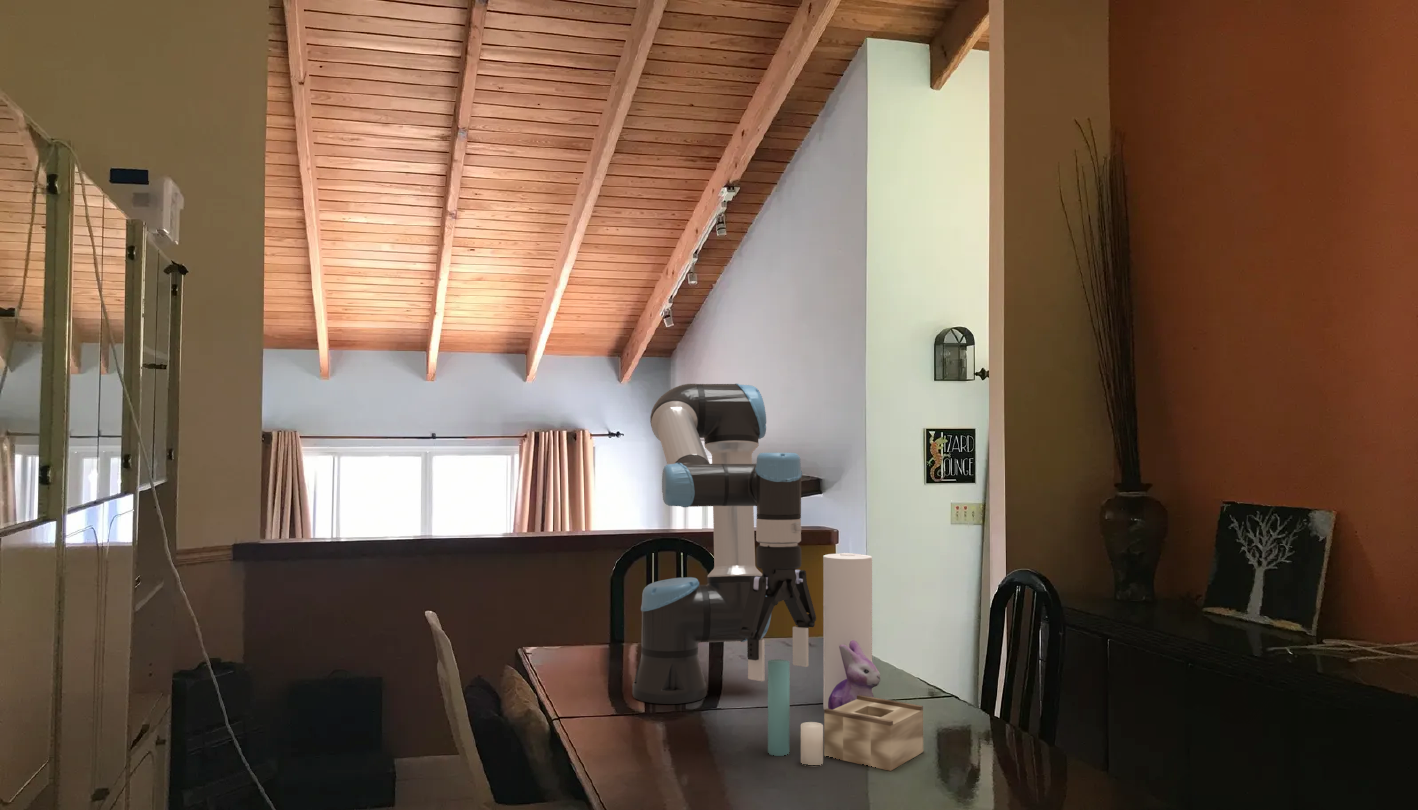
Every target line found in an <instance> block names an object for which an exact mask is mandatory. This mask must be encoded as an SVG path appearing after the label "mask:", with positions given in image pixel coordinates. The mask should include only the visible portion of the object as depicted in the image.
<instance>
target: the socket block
mask: <svg viewBox="0 0 1418 810" xmlns="http://www.w3.org/2000/svg"><path fill="white" fill-rule="evenodd" d="M823 711H824V712H823V714H824V715H823V717H824V718H823V722H824V723H823V724H824V725H823V757H826V756H829V757H828V758H830V757H833V758H832V759H835V758H836V759H835V760H839V759H840V761H844V762H849V763H853V764H858V765H862V764H864V765H863V766H866V765H868V767H871V766H872V767H871V768H875V767H876V768H875V769H880V770H885V771H889V772H891V771H893V770H895V769H896V768H898V767H901V766H902V765H904V764H905V763H907V762H908V761H910V760H912V759H913V758H915V757H918V756H919V755H920V754H922V753H924V706H923V705H918V704H914V703H909V702H908V703H907V702H902V701H895V700H890V699H887V698H886V699H884V698H880V697H874V696H873V697H869V696H863V695H857V699H856V700H854V701H852V702H849V703H847V704H845V705H842V706H840V707H838V708H835V709H833V710H832V709H824V708H823Z"/></svg>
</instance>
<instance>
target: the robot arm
mask: <svg viewBox="0 0 1418 810" xmlns="http://www.w3.org/2000/svg"><path fill="white" fill-rule="evenodd" d="M766 413H767V412H766V407H765V403H764V398H763V396H762V394H761V392H760V391H759V389H758V388H757V386H754V385H750V384H739V383H686V384H681V385H678V386H675V387H673V388H671V389H669V390H667V391H666V392H664V394H662V395H661V396H660V397H659V398H658V399H657V400H656V402H655V404H654V405H653V407H652V410H651V413H650V417H649V418H650V426H651V430H652V433H653V435H654V436H655V438H656V439H658V440H659V441H660V444H661V447H662V450H663V454H664V457H665V461H666V465H665V466H664V467H663V468H662V473H661V474H662V475H661V492H662V493H661V494H662V500H663V502H664V504H665V505H667V506H669V507H681V508H691V507H692V508H693V507H694V508H695V507H698V508H699V507H712V518H713V520H712V521H713V558H714V559H713V561H714V563H713V564H714V566H713V569H711V571H710V572H709V573H708V575H707V579H706V580H707V584H700V581H699V579H698V578H696V577H692V576H688V577H686V576H685V577H672V578H668V579H662V580H661V579H660V580H658V581H654V582H651V583H649V584H647V585H646V586H645V587H644V588H643V590H642V593H641V595H642V596H641V606H640V611H641V652H640V653H641V657H640V659H639V663H638V665H637V666H638V667H637V670H636V672H635V675H634V676H635V678H634V680H633V682H632V697H633V698H634V699H636V700H638V701H640V702H644V703H649V704H651V703H652V704H659V705H666V704H667V705H675V704H677V705H678V704H687V703H693V702H696V701H700V700H702V699H704V698H705V697H706V696H707V693H708V692H707V681H706V679H705V677H704V673H703V672H704V671H703V668H702V665H701V662H700V658H699V643H727V642H729V643H730V642H732V643H733V642H740V643H745V642H747V643H746V644H747V679H748V680H752V681H758V682H765V677H766V676H765V673H766V672H765V671H766V670H765V669H766V668H765V665H766V664H765V663H766V661H765V660H766V659H765V657H766V654H765V651H766V650H765V648H766V647H765V646H766V644H765V639H764V637H765V636H766V634H767V632H768V630H769V627H770V624H771V618H772V613H773V610H774V608H775V606H778V605H779V602H784V604H785V606H786V608H787V609H788V613H790V616H791V618H792V619H793V622H794V624H795V626H792V666H798V667H804V668H807V667H809V642H810V641H809V640H810V639H809V628H815V624H816V623H815V622H816V621H817V615H816V612H815V608H814V603H813V600H812V597H811V593H810V588H809V586H808V582H807V572H806V570H804V569H799V568H801V567H802V547H801V546H800V545H799V543H800V542H802V534H801V533H802V529H803V528H802V523H801V522H802V520H801V519H802V476H803V472H802V467H801V456H800V455H799V454H798V453H796V452H760V453H759V454H757V457H756V463H753V453H754V451H755V450H756V449H757V448H758V447H759V440H761V439H762V438H765V436H766V434H767V432H766V431H767V414H766ZM701 439H703V440H704V445H703V443H702V441H701ZM705 449H706V450H707V451H708V452H709V453H710V454H711V463H710V461H709V459H708V455H707V453H706V451H705ZM754 507H756V519H755V518H754V517H755V516H754V513H755V512H754ZM755 520H756V523H755ZM755 524H756V525H755ZM755 526H756V529H755ZM755 531H756V532H755ZM755 534H756V535H755ZM755 537H756V538H755ZM755 542H757V543H759V544H758V545H757V547H755ZM755 548H756V549H755ZM758 568H759V569H761V570H762V572H761V570H759V569H758Z"/></svg>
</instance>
